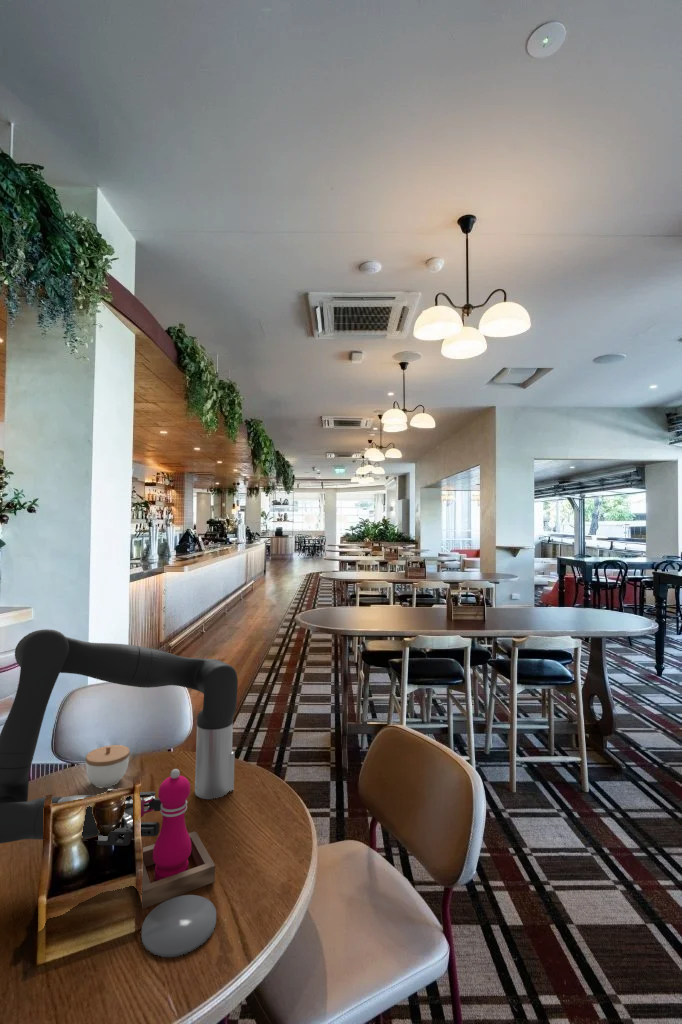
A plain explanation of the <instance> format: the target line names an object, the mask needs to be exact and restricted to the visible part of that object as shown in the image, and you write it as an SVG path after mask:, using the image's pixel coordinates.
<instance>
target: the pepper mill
mask: <svg viewBox="0 0 682 1024" xmlns="http://www.w3.org/2000/svg"><path fill="white" fill-rule="evenodd" d="M190 794H191V783H190V781H189V780H188V778H187V777H185V776H183V775H181V772H180V770H179V769H178V768H173V769H172V770H171V772H170V775H169V776H168V777H166V779H164V780H163V781H162V782H161V784H160V785H159V788H158V794H157V795H158V797H157V798H159V800H160V802H161V803H162V804H161V810H160V811H159V812H160V814H161V816H162V822H161V826H160V827H161V828H160V830H159V834H158V835H157V838H156V841H155V842H154V844H155V846H154V849H153V861H154V863H155V864H154V865H155V866H154V881H158V880H161V879H164V878H166V877H169V876H172V875H175V874H178V873H181V872H184V871H186V870H189V860H188V859H189V857H190V856H191V855H192V854H191V840H190V836H189V834H188V833H189V832H188V830H187V825H186V821H185V812H186V811H187V810H188V800H187V799H188V798H189V796H190Z"/></svg>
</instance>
